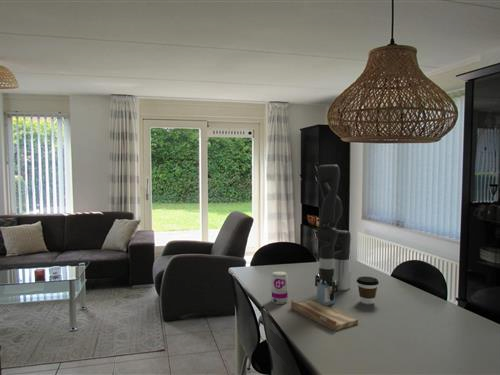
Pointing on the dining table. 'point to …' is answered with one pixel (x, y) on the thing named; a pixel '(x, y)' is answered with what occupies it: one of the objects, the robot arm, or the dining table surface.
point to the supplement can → (279, 287)
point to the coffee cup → (367, 289)
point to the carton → (324, 294)
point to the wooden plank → (324, 314)
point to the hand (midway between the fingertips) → (325, 297)
